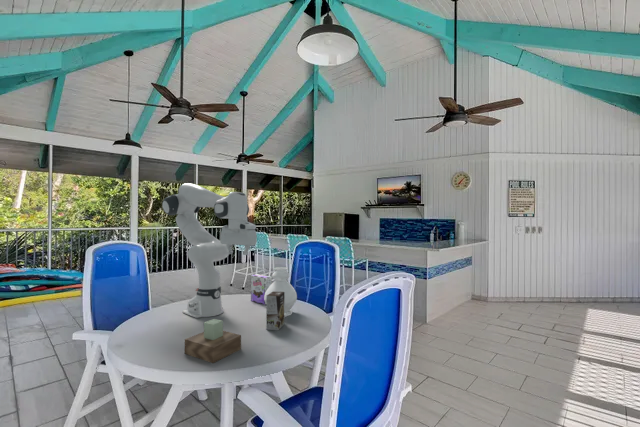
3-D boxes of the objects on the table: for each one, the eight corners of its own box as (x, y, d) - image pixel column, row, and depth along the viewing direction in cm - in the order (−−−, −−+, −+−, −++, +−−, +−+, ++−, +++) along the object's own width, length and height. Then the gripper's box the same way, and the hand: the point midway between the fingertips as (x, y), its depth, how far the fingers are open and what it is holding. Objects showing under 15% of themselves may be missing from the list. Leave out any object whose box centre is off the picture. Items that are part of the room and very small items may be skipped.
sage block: (203, 338, 123) (204, 322, 123) (213, 333, 127) (213, 318, 127) (213, 340, 120) (213, 324, 121) (222, 335, 125) (222, 320, 125)
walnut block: (184, 354, 121) (184, 339, 122) (213, 342, 134) (213, 328, 134) (213, 364, 113) (213, 347, 114) (241, 350, 126) (241, 335, 126)
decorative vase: (303, 313, 172) (303, 268, 172) (277, 321, 159) (277, 272, 160) (283, 307, 184) (283, 264, 185) (257, 313, 172) (257, 268, 172)
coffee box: (278, 330, 146) (279, 295, 146) (265, 329, 147) (265, 295, 148) (285, 324, 155) (285, 291, 155) (272, 323, 156) (272, 290, 157)
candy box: (250, 300, 198) (250, 274, 198) (257, 299, 203) (257, 273, 203) (264, 304, 189) (264, 277, 190) (272, 302, 194) (272, 276, 194)
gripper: (217, 225, 152) (217, 253, 152) (249, 225, 143) (249, 256, 142) (226, 225, 158) (226, 252, 158) (258, 225, 148) (258, 254, 148)
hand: (237, 254), depth 150 cm, fingers open, 8 cm apart
